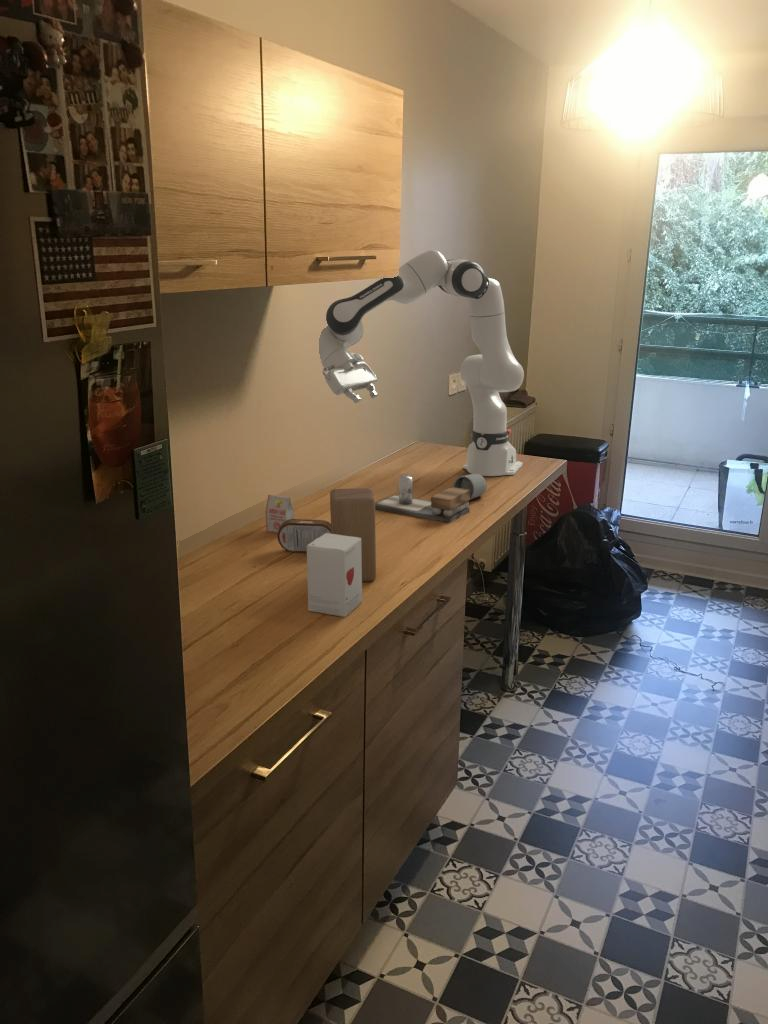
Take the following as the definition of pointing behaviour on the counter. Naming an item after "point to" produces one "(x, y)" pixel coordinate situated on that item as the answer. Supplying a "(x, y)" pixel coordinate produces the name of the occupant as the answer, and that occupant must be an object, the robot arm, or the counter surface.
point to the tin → (301, 533)
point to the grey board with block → (431, 505)
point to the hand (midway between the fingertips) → (367, 399)
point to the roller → (405, 489)
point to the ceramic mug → (472, 484)
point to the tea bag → (278, 512)
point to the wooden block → (356, 523)
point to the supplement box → (334, 574)
